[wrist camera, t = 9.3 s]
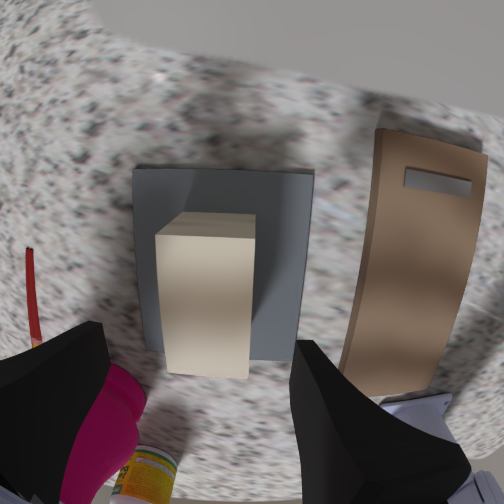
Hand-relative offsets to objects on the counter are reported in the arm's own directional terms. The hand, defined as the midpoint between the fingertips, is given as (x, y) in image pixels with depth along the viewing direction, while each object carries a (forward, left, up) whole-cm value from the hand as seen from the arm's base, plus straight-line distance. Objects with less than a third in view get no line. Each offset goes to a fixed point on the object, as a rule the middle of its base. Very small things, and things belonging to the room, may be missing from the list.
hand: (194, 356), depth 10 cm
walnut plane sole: (0, -12, -8) cm, 15 cm away
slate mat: (0, 0, -8) cm, 8 cm away
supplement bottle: (-21, +7, -8) cm, 24 cm away
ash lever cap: (0, 0, -8) cm, 8 cm away
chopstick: (-11, +17, -9) cm, 22 cm away
